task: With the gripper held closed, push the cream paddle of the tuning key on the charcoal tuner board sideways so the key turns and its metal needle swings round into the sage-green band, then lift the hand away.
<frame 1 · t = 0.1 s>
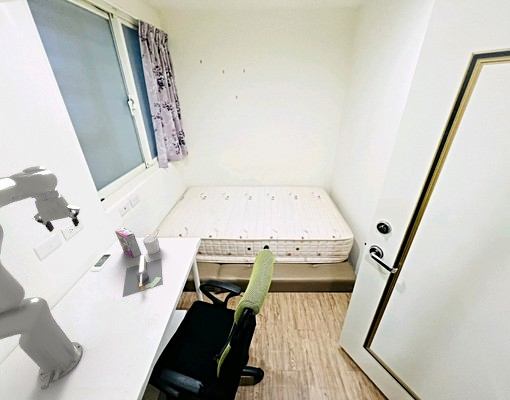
hand: (64, 227, 103), 31 cm above the table, fingers open, 9 cm apart
white cup: (154, 251, 133), on the table
candy bar box: (132, 254, 132), on the table
tuner board: (144, 277, 115), on the table
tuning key: (142, 272, 114), point 4 cm above the table, hinge at 0.0°
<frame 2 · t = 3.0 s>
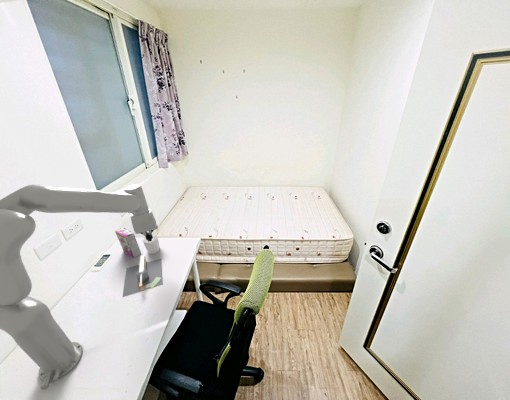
hand: (150, 239, 115), 17 cm above the table, fingers closed
nothing on the table moved.
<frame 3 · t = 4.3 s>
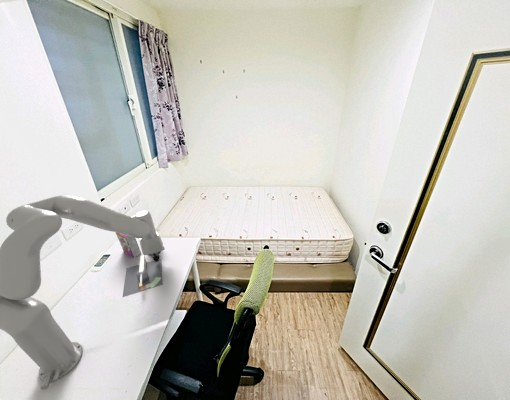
hand: (157, 260, 122), 3 cm above the table, fingers closed
nothing on the table moved.
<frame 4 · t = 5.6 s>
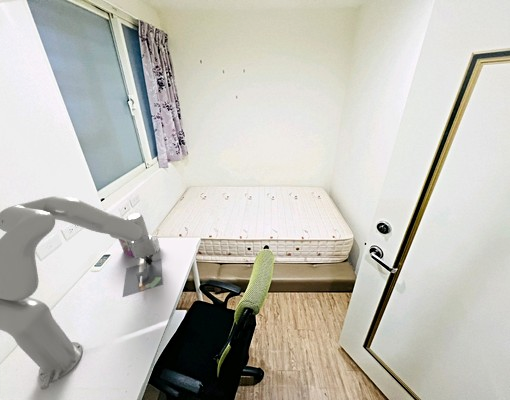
hand: (150, 263, 121), 3 cm above the table, fingers closed
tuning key: (142, 272, 114), point 4 cm above the table, hinge at 0.0°, touching gripper
everything else where it was.
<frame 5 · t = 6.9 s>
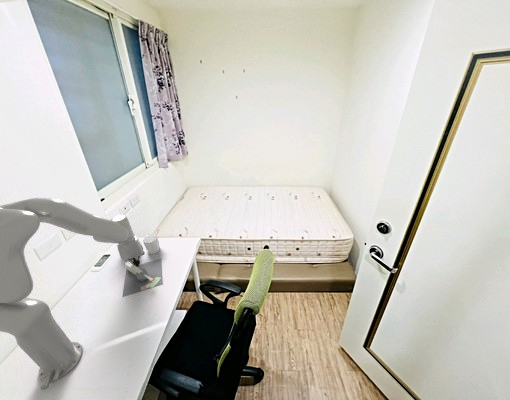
hand: (137, 264, 119), 3 cm above the table, fingers closed
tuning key: (139, 273, 113), point 4 cm above the table, hinge at 34.7°, touching gripper
everything else where it was.
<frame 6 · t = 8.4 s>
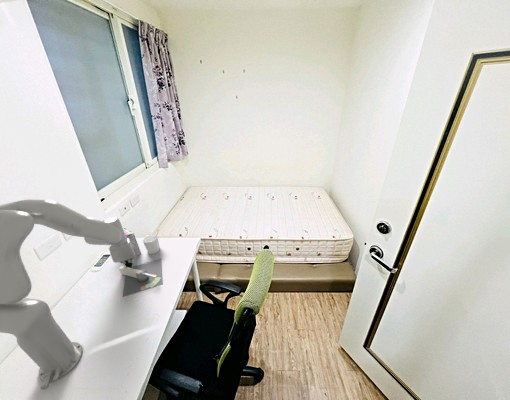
hand: (129, 267, 118), 3 cm above the table, fingers closed
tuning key: (138, 274, 112), point 4 cm above the table, hinge at 49.8°, touching gripper
everything else where it was.
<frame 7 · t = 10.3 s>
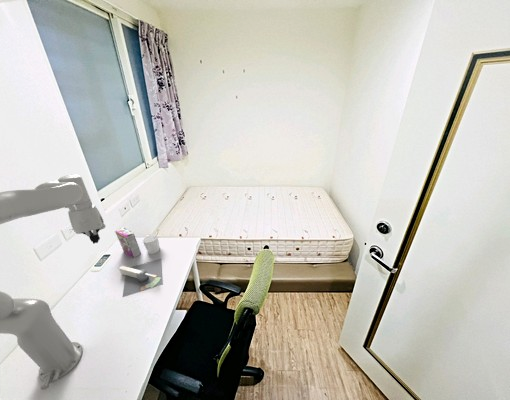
hand: (96, 241, 98), 28 cm above the table, fingers closed
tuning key: (138, 274, 112), point 4 cm above the table, hinge at 49.9°
everything else where it was.
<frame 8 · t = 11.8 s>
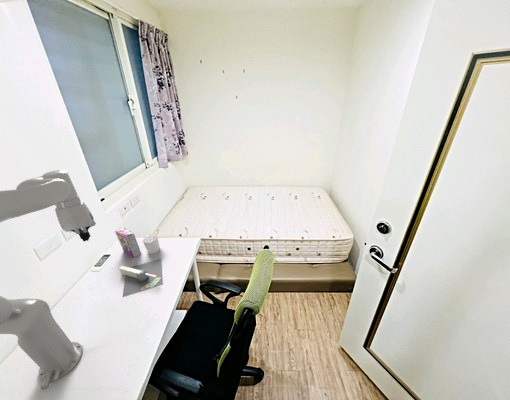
hand: (86, 239, 95), 31 cm above the table, fingers closed
nothing on the table moved.
at the end: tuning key at +50° (first picture: +0°); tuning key touching nothing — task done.
